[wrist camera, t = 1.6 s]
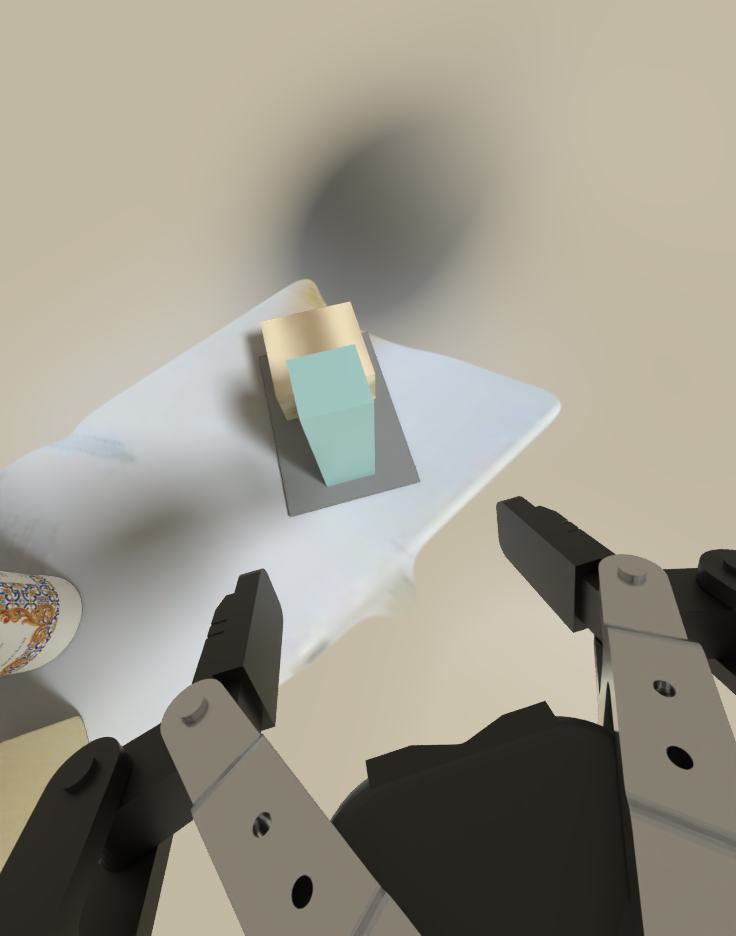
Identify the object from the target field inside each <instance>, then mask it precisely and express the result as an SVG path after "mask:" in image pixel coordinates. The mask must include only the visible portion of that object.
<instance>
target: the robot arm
mask: <svg viewBox="0 0 736 936" xmlns="http://www.w3.org/2000/svg"><path fill="white" fill-rule="evenodd" d="M496 510H497V522H498V535H499V543H500V546H501V549H502V551H503V553H504V554H505V556H506V557H507V559H508V560H509V561H510V562H511V563H512V564H513V565H514V567H515V568H516V569H517V570H518V571H519V572H520V573H521V574H522V576H523V577H524V578H525V579H526V580H527V581H528V582H529V583H530V585H531V586H532V587H533V588H534V589H535V590H536V591H537V592H538V593H539V595H540V596H541V597H542V598H543V599H544V600H545V601H546V603H547V604H548V605H549V606H550V607H551V608H552V609H553V610H554V612H555V613H556V614H557V615H558V616H559V617H560V618H561V619H562V621H563V622H564V623H565V624H566V625H567V626H568V627H569V629H570V630H571V631H572V632H573V633H574V632H577V631H581V630H584V629H586V628H589V629H590V630H591V632H592V633H594V653H595V668H596V683H597V700H598V724H595V723H592V722H589V721H586V720H582V719H577V718H571V717H562V716H555V715H554V714H553V712H552V711H551V709H550V708H549V706H548V704H547V703H546V701H544V702H540V703H538V704H534V705H532V706H529V707H526V708H523V709H519V710H516V711H513V712H510V713H507V714H505V715H502V716H501V717H499V718H498V719H497V720H495V721H494V722H492V723H491V724H490V725H488V726H487V727H486V728H484V729H483V730H482V731H480V732H479V733H477V734H476V735H475V736H473V737H472V738H471V739H469V740H468V741H466V742H465V743H463V744H456V745H411V746H408V747H405V748H402V749H399V750H396V751H393V752H390V753H387V754H384V755H381V756H378V757H375V758H372V759H369V760H366V767H367V773H368V779H366V780H365V781H363V782H362V783H361V784H360V785H358V786H357V787H356V788H355V789H354V790H353V791H352V792H351V793H350V794H349V795H348V797H347V798H346V799H345V800H344V801H343V803H342V804H341V805H340V806H339V808H338V810H337V811H336V813H335V814H334V815H333V817H332V819H331V820H329V819H328V818H327V816H326V815H325V814H324V812H323V811H322V810H321V809H320V807H319V806H318V805H317V803H316V802H315V801H314V799H313V798H312V797H311V796H310V794H309V793H308V792H307V790H306V789H305V788H304V786H303V785H302V784H301V783H300V781H299V780H298V779H297V777H296V776H295V775H294V773H293V772H292V771H291V769H290V768H289V767H288V766H287V764H286V763H285V762H284V761H283V759H282V758H281V756H280V755H279V754H278V753H277V751H276V750H275V749H274V747H273V746H272V745H271V743H270V742H269V741H268V740H267V738H266V737H265V736H264V735H263V734H261V731H262V730H266V729H269V728H272V727H275V722H276V709H277V696H278V683H279V670H280V657H281V644H282V631H283V614H282V609H281V605H280V602H279V600H278V598H277V595H276V593H275V591H274V588H273V586H272V583H271V581H270V579H269V576H268V574H267V572H266V570H265V569H259V570H256V571H252V572H249V573H245V574H242V575H240V576H239V578H238V582H237V585H236V589H235V593H233V594H230V595H226V596H225V598H224V599H223V600H222V602H221V603H220V604H219V606H218V607H217V609H216V610H215V613H214V616H213V620H212V623H211V627H210V629H209V632H208V635H207V636H208V639H206V641H205V644H204V647H203V651H202V654H201V657H200V660H199V663H198V666H197V669H196V672H195V675H194V678H193V682H192V685H190V686H189V687H187V688H186V689H185V690H183V691H182V692H181V693H180V694H179V695H178V696H177V697H176V698H175V699H174V700H173V701H172V703H171V704H170V705H169V707H168V708H167V710H166V712H165V714H164V716H163V718H162V721H161V723H160V724H158V725H157V726H155V727H154V728H152V729H151V730H149V731H147V732H146V733H144V734H142V735H141V736H139V737H137V738H136V739H134V740H132V741H131V742H129V743H127V744H126V745H124V746H121V745H120V744H119V742H118V741H117V740H116V739H114V738H112V737H103V738H99V739H96V740H94V741H92V742H90V743H88V744H87V745H85V746H83V747H82V748H80V749H79V750H78V751H77V752H75V753H74V754H73V755H72V756H71V757H69V758H68V759H67V760H66V761H65V762H64V763H63V764H62V765H61V766H60V768H59V769H58V770H57V771H56V772H55V774H54V775H53V776H52V778H51V779H50V781H49V782H48V784H47V786H46V787H45V789H44V791H43V793H42V795H41V797H40V798H39V800H38V802H37V804H36V806H35V808H34V810H33V812H32V814H31V816H30V817H29V819H28V821H27V823H26V825H25V827H24V829H23V831H22V833H21V835H20V836H19V838H18V840H17V842H16V844H15V846H14V848H13V850H12V852H11V854H10V855H9V857H8V859H7V861H6V863H5V865H4V867H3V869H2V871H1V873H0V936H151V934H152V929H153V925H154V920H155V915H156V911H157V907H158V902H159V897H160V893H161V888H162V884H163V879H164V875H165V870H166V866H167V861H168V856H169V852H170V847H171V843H172V838H173V834H174V833H175V832H177V831H178V830H180V829H181V828H182V827H184V826H185V825H186V824H188V823H189V822H191V821H192V820H193V819H194V821H195V823H196V826H197V828H198V830H199V832H200V835H201V837H202V839H203V841H204V844H205V846H206V848H207V850H208V853H209V855H210V857H211V860H212V862H213V864H214V866H215V868H216V871H217V873H218V875H219V878H220V880H221V882H222V884H223V886H224V888H225V891H226V893H227V895H228V898H229V900H230V902H231V905H232V907H233V909H234V911H235V914H236V916H237V918H238V920H239V922H240V925H241V927H242V929H243V932H244V934H245V936H736V742H735V738H734V736H733V733H732V730H731V727H730V724H729V721H728V719H727V716H726V713H725V710H724V707H723V704H722V702H721V699H720V696H719V693H718V690H717V687H716V684H715V682H714V679H713V676H712V674H713V675H714V676H715V677H716V678H718V679H719V680H720V681H721V682H722V683H723V684H724V685H725V686H727V687H728V688H729V689H730V690H731V691H732V692H733V693H734V694H735V695H736V550H728V549H718V550H711V551H708V552H705V553H704V554H702V555H701V557H700V560H699V565H698V568H687V569H662V568H661V567H659V566H658V565H657V564H655V563H653V562H651V561H649V560H647V559H644V558H641V557H637V556H633V555H624V554H623V555H622V554H620V555H616V554H614V553H613V552H612V551H610V550H609V549H607V548H606V547H605V546H603V545H602V544H600V543H599V542H598V541H596V540H595V539H593V538H592V537H591V536H589V535H588V534H586V533H585V532H584V531H582V530H581V529H578V527H577V526H575V525H574V524H573V523H571V522H568V520H567V519H565V518H564V517H563V516H562V515H560V514H559V513H557V512H556V511H553V510H550V509H548V508H545V507H542V506H538V507H534V506H533V505H532V504H531V503H529V502H528V501H527V500H525V499H524V498H523V497H520V496H518V497H514V498H511V499H507V500H504V501H500V502H498V503H497V506H496Z"/></svg>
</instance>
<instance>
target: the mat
mask: <svg viewBox="0 0 736 936" xmlns="http://www.w3.org/2000/svg"><path fill="white" fill-rule="evenodd" d="M361 334H362V337H363V340H364V343H365V345H366V348H367V351H368V354H369V357H370V360H371V363H372V366H373V369H374V371H375V399H373V400H374V434H375V474H373V475H370V476H366V477H362V478H358V479H355V480H351V481H347V482H343V483H340V484H336V485H332V486H328V487H327V485H326V483H325V481H324V478H323V476H322V473H321V471H320V468H319V466H318V464H317V461H316V459H315V456H314V454H313V451H312V449H311V447H310V444H309V442H308V439H307V437H306V434H305V432H304V430H303V427H302V425H301V422H300V419H299V418H296V419H292V420H288V421H287V419H286V417H285V415H284V413H283V411H282V409H281V407H280V405H279V403H278V401H277V399H276V395H275V390H274V385H273V380H272V375H271V371H270V366H269V361H268V356H267V355H266V356H262V357H259V360H260V365H261V370H262V375H263V381H264V386H265V391H266V396H267V401H268V406H269V411H270V416H271V422H272V427H273V432H274V437H275V442H276V447H277V452H278V457H279V463H280V468H281V473H282V478H283V483H284V488H285V493H286V498H287V504H288V509H289V514H290V517H292V516H296V515H300V514H304V513H307V512H311V511H315V510H318V509H322V508H326V507H329V506H333V505H337V504H340V503H344V502H348V501H351V500H355V499H359V498H362V497H366V496H370V495H373V494H377V493H381V492H384V491H388V490H392V489H395V488H399V487H403V486H407V485H410V484H414V483H418V482H420V479H419V476H418V473H417V470H416V468H415V465H414V462H413V459H412V456H411V453H410V451H409V448H408V445H407V442H406V439H405V437H404V434H403V431H402V428H401V425H400V422H399V420H398V417H397V414H396V411H395V408H394V406H393V403H392V400H391V397H390V394H389V392H388V389H387V386H386V383H385V380H384V377H383V375H382V372H381V369H380V366H379V363H378V361H377V358H376V355H375V352H374V349H373V346H372V344H371V341H370V338H369V335H368V332H365V333H361Z"/></svg>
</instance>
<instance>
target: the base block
mask: <svg viewBox="0 0 736 936" xmlns="http://www.w3.org/2000/svg"><path fill="white" fill-rule="evenodd" d="M261 327H262V332H263V337H264V342H265V346H266V351H267V356H268V361H269V366H270V371H271V375H272V380H273V385H274V390H275V395H276V399H277V401H278V403H279V405H280V407H281V409H282V411H283V413H284V415H285V417H286V419H287V421H288V420H292V419H296V418H299V415H298V411H297V406H296V402H295V398H294V393H293V389H292V385H291V380H290V376H289V372H288V367H287V363H286V360H289V359H293V358H297V357H301V356H306V355H310V354H314V353H318V352H323V351H327V350H331V349H335V348H340V347H344V346H348V345H352V344H355V346H356V349H357V352H358V355H359V358H360V361H361V364H362V367H363V370H364V373H365V376H366V379H367V382H368V385H369V388H370V391H371V394H372V397H373V399H375V371H374V369H373V366H372V363H371V360H370V357H369V354H368V351H367V348H366V345H365V343H364V340H363V337H362V334H361V331H360V328H359V325H358V322H357V319H356V317H355V314H354V311H353V308H352V305H351V302H347V303H342V304H338V305H333V306H329V307H324V308H320V309H315V310H311V311H306V312H302V313H298V314H293V315H289V316H284V317H280V318H275V319H271V320H266V321H262V322H261Z"/></svg>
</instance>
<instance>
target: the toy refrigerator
mask: <svg viewBox="0 0 736 936" xmlns="http://www.w3.org/2000/svg"><path fill="white" fill-rule="evenodd" d="M88 743H89V742H88V738H87V734H86V730H85V727H84V723H83V721H82V719H81V717H80V716H75V717H71V718H69V719H66V720H63V721H60V722H57V723H54V724H51V725H49V726H46V727H43V728H40V729H37V730H34V731H31V732H28V733H25V734H23V735H20V736H17V737H14V738H11V739H8V740H5V741H2V742H0V873H1V871H2V869H3V867H4V865H5V863H6V861H7V859H8V857H9V855H10V854H11V852H12V850H13V848H14V846H15V844H16V842H17V840H18V838H19V836H20V835H21V833H22V831H23V829H24V827H25V825H26V823H27V821H28V819H29V817H30V816H31V814H32V812H33V810H34V808H35V806H36V804H37V802H38V800H39V798H40V797H41V795H42V793H43V791H44V789H45V787H46V786H47V784H48V782H49V781H50V779H51V778H52V776H53V775H54V774H55V772H56V771H57V770H58V769H59V768H60V766H61V765H62V764H63V763H64V762H65V761H66V760H67V759H68V758H69V757H71V756H72V755H73V754H74V753H75V752H77V751H78V750H79V749H80V748H82V747H83V746H85V745H87V744H88Z"/></svg>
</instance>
